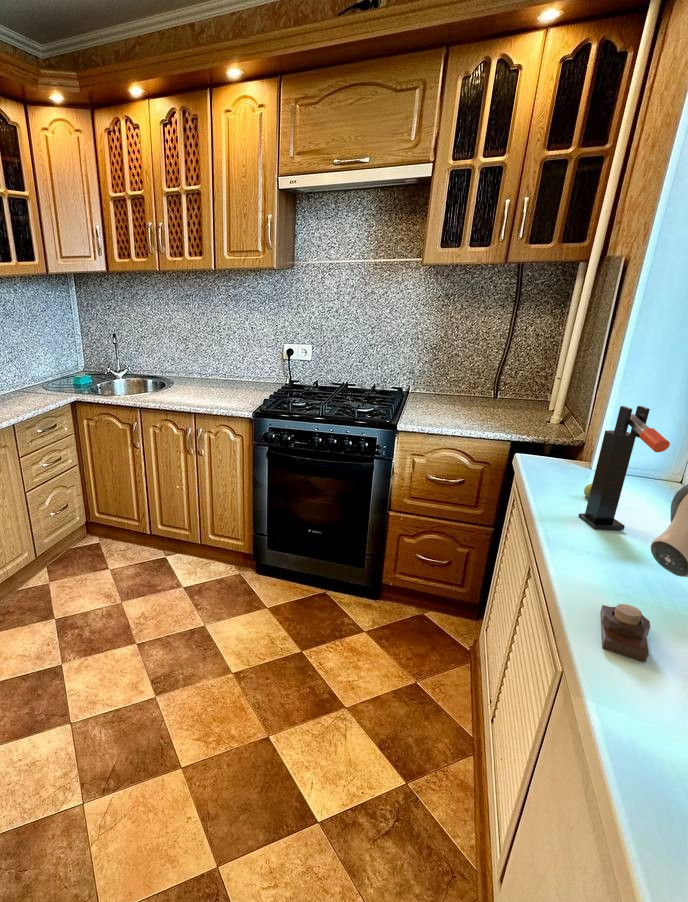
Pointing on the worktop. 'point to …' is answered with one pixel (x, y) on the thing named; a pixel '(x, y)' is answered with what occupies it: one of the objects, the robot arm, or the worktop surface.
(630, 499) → the worktop surface
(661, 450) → the lever
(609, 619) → the control block
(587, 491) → the lime
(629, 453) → the post
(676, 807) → the worktop surface
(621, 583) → the worktop surface
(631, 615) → the button
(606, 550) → the worktop surface
